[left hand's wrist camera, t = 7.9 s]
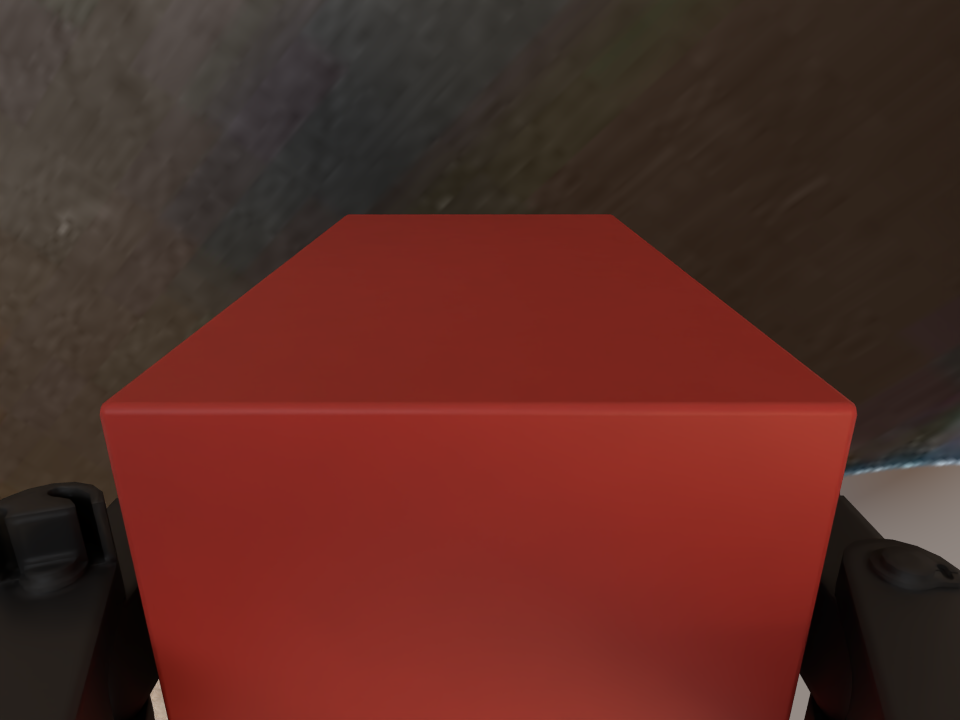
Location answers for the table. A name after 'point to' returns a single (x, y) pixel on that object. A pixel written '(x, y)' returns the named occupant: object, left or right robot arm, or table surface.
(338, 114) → the table surface
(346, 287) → the block
